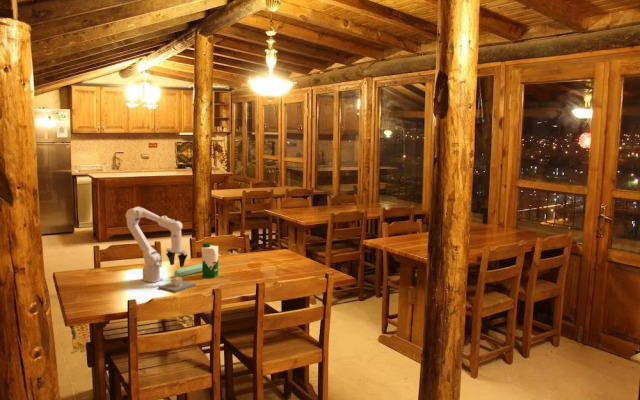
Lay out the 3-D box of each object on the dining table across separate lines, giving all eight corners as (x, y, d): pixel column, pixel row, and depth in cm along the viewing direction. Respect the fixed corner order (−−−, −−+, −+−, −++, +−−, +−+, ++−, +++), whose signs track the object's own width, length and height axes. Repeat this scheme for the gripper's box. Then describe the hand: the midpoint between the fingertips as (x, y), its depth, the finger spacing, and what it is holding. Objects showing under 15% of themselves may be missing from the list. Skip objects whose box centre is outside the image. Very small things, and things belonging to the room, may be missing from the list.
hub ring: (170, 285, 309) (169, 278, 308) (177, 283, 313) (176, 276, 313) (177, 287, 306) (176, 280, 305) (184, 284, 310) (184, 277, 310)
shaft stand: (158, 288, 307) (158, 279, 306) (178, 282, 319) (178, 273, 319) (175, 292, 300) (175, 283, 299) (195, 285, 313) (195, 276, 312)
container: (176, 268, 327) (211, 260, 345) (171, 270, 331) (206, 262, 349) (179, 278, 326) (213, 269, 345) (173, 279, 330) (208, 271, 349)
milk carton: (206, 273, 338) (205, 241, 335) (220, 274, 336) (219, 242, 333) (200, 277, 329) (199, 244, 326) (214, 278, 327) (214, 245, 325)
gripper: (162, 242, 318) (162, 265, 320) (180, 245, 310) (181, 269, 312) (171, 240, 324) (171, 262, 325) (189, 243, 316) (190, 266, 318)
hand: (177, 265), depth 319 cm, fingers open, 7 cm apart
